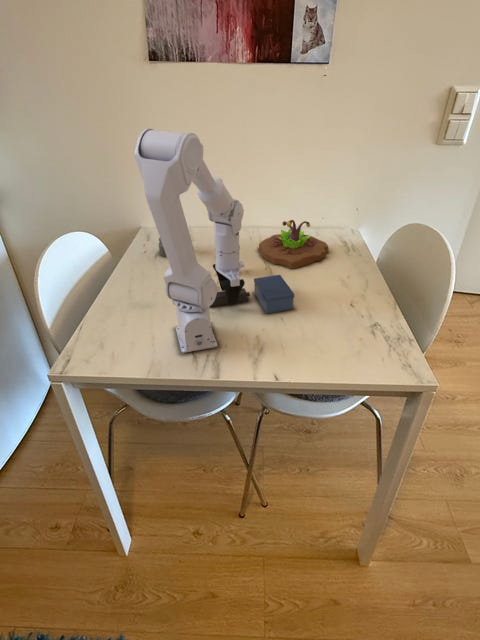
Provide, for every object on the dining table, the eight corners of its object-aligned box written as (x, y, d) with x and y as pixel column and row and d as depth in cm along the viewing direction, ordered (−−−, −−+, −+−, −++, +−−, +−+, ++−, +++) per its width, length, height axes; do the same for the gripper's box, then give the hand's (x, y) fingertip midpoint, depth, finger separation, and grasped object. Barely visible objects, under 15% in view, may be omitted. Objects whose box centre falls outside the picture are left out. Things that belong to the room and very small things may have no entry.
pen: (247, 295, 108) (247, 287, 107) (250, 300, 106) (250, 292, 104) (203, 302, 105) (202, 294, 104) (205, 308, 103) (204, 299, 102)
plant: (247, 251, 129) (247, 217, 123) (289, 234, 140) (291, 202, 134) (295, 274, 117) (297, 237, 111) (336, 253, 128) (341, 219, 121)
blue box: (293, 309, 103) (294, 294, 100) (265, 314, 101) (266, 298, 98) (279, 289, 111) (280, 274, 108) (253, 293, 109) (253, 278, 106)
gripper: (252, 259, 92) (251, 309, 100) (235, 234, 104) (236, 281, 112) (221, 263, 91) (223, 314, 99) (208, 237, 102) (211, 284, 110)
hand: (228, 296), depth 105 cm, fingers open, 7 cm apart
